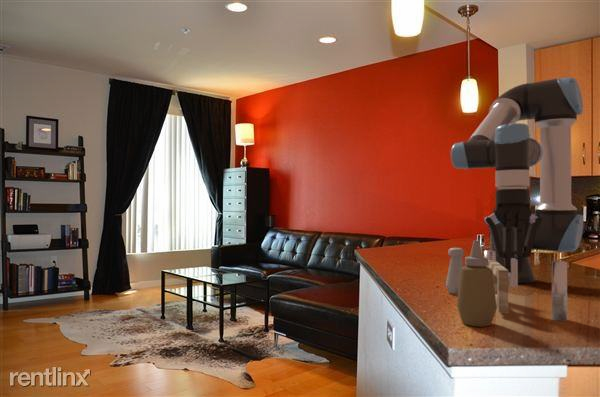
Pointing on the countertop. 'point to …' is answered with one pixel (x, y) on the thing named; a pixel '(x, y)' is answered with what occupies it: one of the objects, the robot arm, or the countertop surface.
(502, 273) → the gate
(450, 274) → the salt shaker
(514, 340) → the countertop surface
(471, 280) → the squeeze bottle
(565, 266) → the gateposts
